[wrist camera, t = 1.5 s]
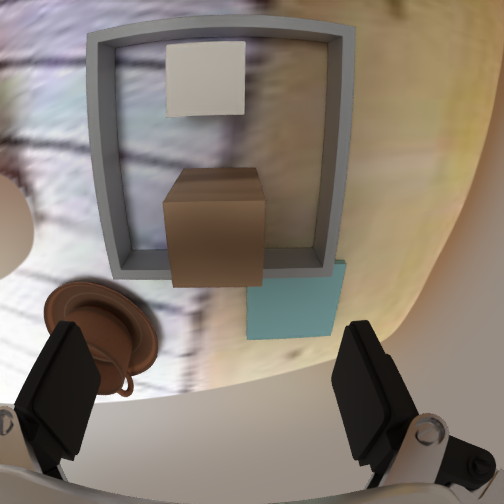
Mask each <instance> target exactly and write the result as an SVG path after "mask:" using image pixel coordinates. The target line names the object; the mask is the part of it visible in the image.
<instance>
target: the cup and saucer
mask: <svg viewBox="0 0 504 504" xmlns="http://www.w3.org/2000/svg"><path fill="white" fill-rule="evenodd" d="M44 320H45V324H46V327H47V330H48V332H49V334H50V335H51V333H52V332H53V330H54V328H55V327H56V325H57V323H58V322H59V321H61V320H63V321H73V322H75V323H76V325H77V326H79V327H80V328H81V331H82V333H83V336H84V338H85V341H86V343H87V346H88V348H89V350H90V353H91V355H92V357H93V359H94V362H95V364H96V366H97V368H98V370H99V373H100V375H101V383H100V387H99V389H98V392H97V395H111V394H114V393H116V392H117V393H118V394H120V395H121V396H123V397H128V396H130V395H131V394H132V392H133V388H134V385H133V380H132V377H131V376H134V375H138V374H140V373H142V372H144V371H146V370H147V369H149V368H150V367H151V366H152V365H153V363H154V362H155V360H156V358H157V354H158V341H157V336H156V332H155V330H154V328H153V326H152V324H151V322H150V321H149V319H148V318H147V316H146V315H145V314H144V313H143V312H142V311H141V310H140V309H139V308H138V307H137V306H136V305H135V304H134V303H133V302H131V301H130V300H129V299H127V298H126V297H125V296H123V295H121V294H120V293H118V292H116V291H114V290H112V289H110V288H107V287H105V286H102V285H99V284H95V283H89V282H71V283H67V284H64V285H62V286H60V287H58V288H57V289H56V290H54V291H53V292H52V293H51V294H50V295H49V297H48V298H47V300H46V302H45V306H44ZM125 377H126V379H127V381H128V389H127V390H126V391H125V390H123V389H121V388H122V386H123V384H124V380H125Z"/></svg>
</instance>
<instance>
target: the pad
mask: <svg viewBox="0 0 504 504" xmlns="http://www.w3.org/2000/svg"><path fill="white" fill-rule="evenodd" d="M345 268H346V263H345V261H344V260H335V262H334V268H333V274H332V277H311V278H272V279H263V283H262V287H247V340H262V339H285V338H303V337H318V336H331V332H332V328H333V324H334V320H335V315H336V311H337V306H338V302H339V297H340V293H341V288H342V283H343V278H344V273H345Z"/></svg>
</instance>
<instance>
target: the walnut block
mask: <svg viewBox="0 0 504 504" xmlns="http://www.w3.org/2000/svg"><path fill="white" fill-rule="evenodd" d="M265 208H266V200H265V197H264V193H263V190H262V187H261V183H260V180H259V177H258V174H257V170H256V168H194V169H183V171H182V172H181V174H180V175H179V177H178V179H177V180H176V182H175V183H174V185H173V187H172V188H171V190H170V191H169V193H168V195H167V196H166V198H165V200H164V201H163V210H164V220H165V229H166V238H167V247H168V255H169V262H170V270H171V277H172V284H173V288H191V287H262V283H263V260H264V235H265Z"/></svg>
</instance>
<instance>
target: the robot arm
mask: <svg viewBox="0 0 504 504" xmlns="http://www.w3.org/2000/svg"><path fill="white" fill-rule="evenodd" d="M331 381H332V386H333V389H334V393H335V396H336V399H337V403H338V406H339V409H340V413H341V417H342V420H343V424H344V427H345V431H346V434H347V438H348V441H349V445H350V449H351V452H352V456H353V458H354V460H358V461H359V465H360V466H364V465H368V464H370V467H371V470H372V472H373V474H372V475H371V477H370V479H369V481H368V483H367V484H366V486H365V488H364V490H360V491H356V492H351V493H347V494H341V495H335V496H329V497H323V498H315V499H308V500H301V501H292V502H283V503H272V504H504V470H503V469H501V468H500V469H499V470H497V469H496V463H495V459H494V457H493V455H492V454H491V453H490V452H488V451H487V450H485V449H482V448H480V447H477V446H475V445H472V444H469V443H467V442H465V441H462V440H460V439H457V438H455V437H453V436H450V435H449V429H448V426H447V424H446V422H445V421H444V420H443V419H442V418H441V417H439V416H437V415H435V414H431V413H423V414H421V415H419V413H418V411H417V409H416V407H415V404H414V402H413V400H412V398H411V396H410V394H409V392H408V390H407V387H406V386H405V383H404V382H403V379H402V377H401V375H400V373H399V371H398V369H397V367H396V365H395V363H394V361H393V359H392V358H391V356H390V355H388V354H385V352H384V350H383V348H382V346H381V344H380V342H379V340H378V338H377V336H376V334H375V332H374V330H373V328H372V326H371V324H370V323H369V321H368V320H361V321H352V322H351V323H350V325H349V326H346V327H345V330H344V334H343V338H342V341H341V345H340V348H339V352H338V356H337V359H336V363H335V366H334V370H333V373H332V377H331ZM100 383H101V375H100V373H99V370H98V368H97V366H96V364H95V362H94V359H93V357H92V355H91V353H90V350H89V348H88V346H87V343H86V341H85V338H84V336H83V333H82V331H81V328H80V327H79V326H77V325H76V323H75V322H73V321H63V320H61V321H59V322H58V323H57V325H56V327H55V328H54V330H53V332H52V333H51V335H50V337H49V339H48V340H47V342H46V344H45V345H44V347H43V349H42V351H41V353H40V354H39V356H38V358H37V360H36V362H35V364H34V365H33V367H32V369H31V371H30V373H29V375H28V377H27V379H26V381H25V383H24V385H23V387H22V389H21V391H20V393H19V395H18V397H17V399H16V401H15V403H14V405H15V408H14V410H13V409H12V408H10V407H8V406H1V407H0V504H188V503H176V502H166V501H158V500H150V499H143V498H137V497H131V496H125V495H120V494H115V493H110V492H105V491H101V490H97V489H92V488H88V487H85V486H81V485H77V484H73V483H70V482H68V480H67V478H66V476H65V474H64V472H63V470H62V468H61V465H60V460H61V458H64V459H67V460H71V461H74V457H75V455H77V454H78V453H79V451H80V447H81V444H82V440H83V437H84V434H85V430H86V427H87V424H88V420H89V417H90V414H91V410H92V408H93V405H94V401H95V398H96V395H97V392H98V389H99V387H100ZM269 504H271V503H269Z"/></svg>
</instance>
